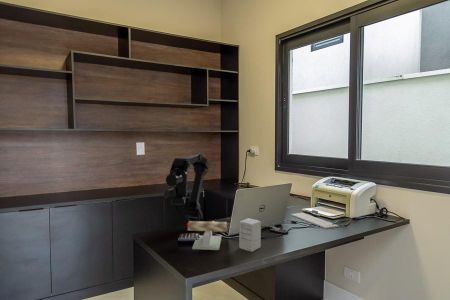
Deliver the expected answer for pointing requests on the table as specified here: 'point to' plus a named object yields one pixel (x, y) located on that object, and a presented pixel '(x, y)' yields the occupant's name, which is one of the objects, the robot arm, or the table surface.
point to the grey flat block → (315, 220)
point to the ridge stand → (207, 242)
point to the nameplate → (277, 230)
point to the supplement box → (250, 234)
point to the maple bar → (207, 226)
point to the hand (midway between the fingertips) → (181, 214)
